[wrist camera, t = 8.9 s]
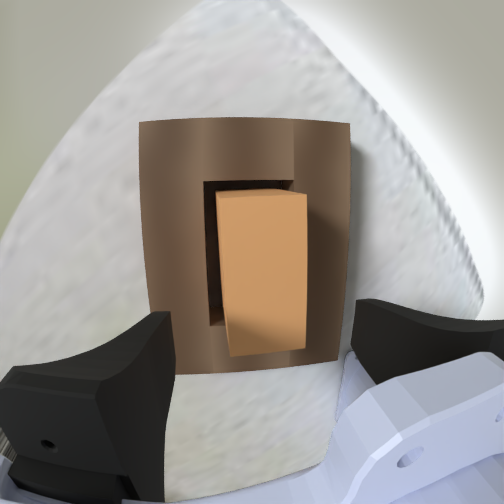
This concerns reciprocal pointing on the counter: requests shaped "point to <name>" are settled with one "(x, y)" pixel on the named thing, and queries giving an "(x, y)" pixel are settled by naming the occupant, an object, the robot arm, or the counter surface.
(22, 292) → the counter surface
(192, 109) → the counter surface
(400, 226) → the counter surface
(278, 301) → the keyed peg
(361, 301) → the robot arm
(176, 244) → the keyed socket
